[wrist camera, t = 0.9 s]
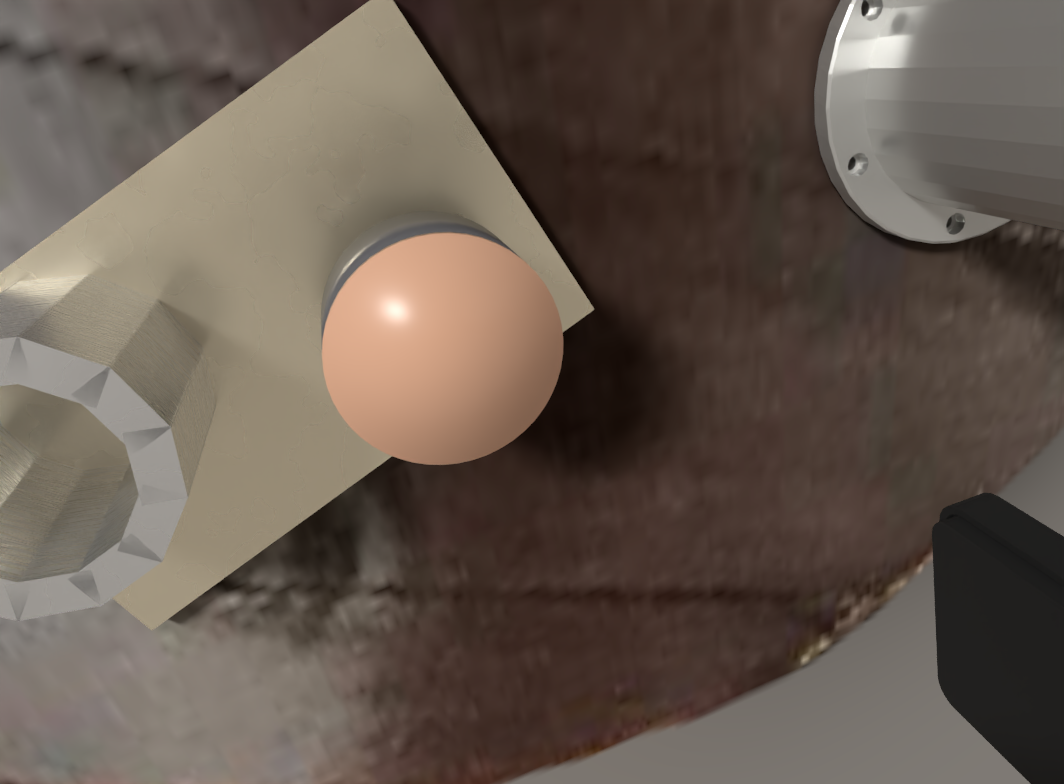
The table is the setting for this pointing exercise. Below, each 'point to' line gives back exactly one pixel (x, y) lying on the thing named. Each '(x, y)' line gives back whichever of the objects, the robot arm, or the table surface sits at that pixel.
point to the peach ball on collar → (437, 339)
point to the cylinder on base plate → (221, 326)
